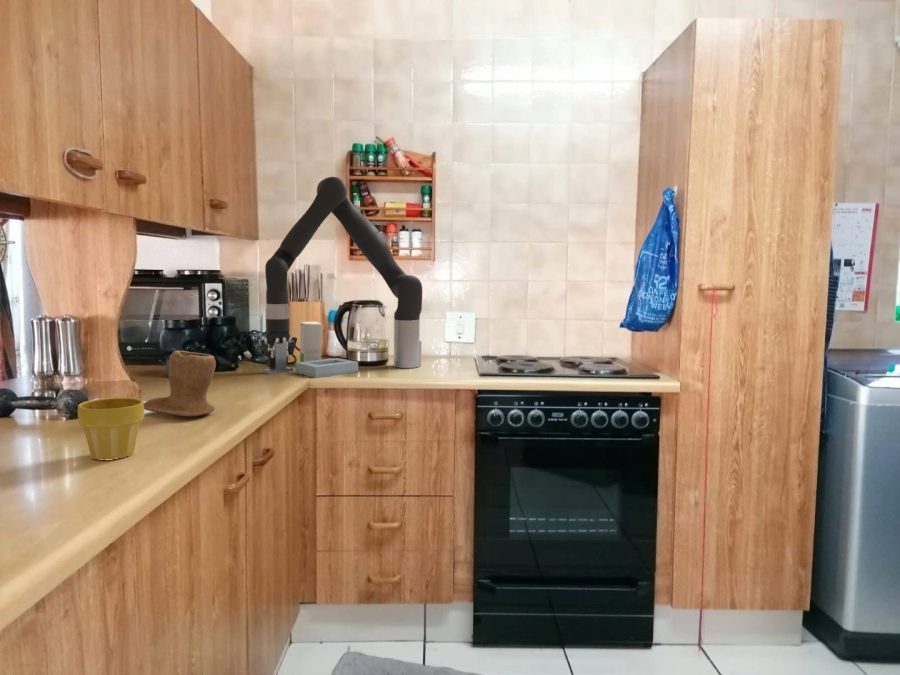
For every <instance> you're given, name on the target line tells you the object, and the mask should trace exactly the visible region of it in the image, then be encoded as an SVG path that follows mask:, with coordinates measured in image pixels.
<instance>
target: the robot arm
mask: <svg viewBox="0 0 900 675" xmlns="http://www.w3.org/2000/svg"><path fill="white" fill-rule="evenodd" d="M331 213H332V215H334V217H335V218H336V219H337V220H338V222H340V224H341V225H342V227H343V229H344V230H345V232H346V233H347V235H349V237H350V238H351V240H352V241H353V243H354V244H355V245H356V247H357V248H358V249H359V251H360V253H362V255H364V257H365V258H366V259H367V261H368V262H369V263H370V264H371V265H372V266H373V267H374V269H375V270H376V271H377V272H378V274H380V276H381V277H382V279H383V280H384V282H385V283H386V284H387V286H388V288H389V290H390V291H391V293H392V295H393V296H394V297H395V298H396V299H397V307H396V310H395V311H394V313H393V367H394V368H399V369H400V368H401V369H415V368H418V367H421V366H422V340H421V339H420V320H421V318H420V316H421V314H422V307H423V285H422V284H423V283H422V282H421V280H420V278H418V277H417V276H415V275H410V274H407V273H406V272H405V271H403V269H402V268H401V267H400V266H399V264H398V263H397V261H396V259H395V258H394V256H393V254H392V252H391V249H390V246H389V244H388V242H387V241H386V239H385V238H384V236H383V235H382V233H381V232H380V231H379V229H378V228H377V227H376V226H375V225H374V224H373V223H372V221H370V220H369V219H368V218H367V217H366V216H365V215H363V213H361V212H360V211H359V210H358V209H357V208H356V207H355V205H354V204H353V202H352V201H351V200H350V198H349V196H348V187H347V185H346V183H345V181H343V180H342V179H341V178H339V177H337V176H328V177H325V178H324V179H322V180H320V181H319V182H318V184H317V187H316V195H315V198H314V200H313V201H312V203H311V204H310V206H309V207H308V209H307V210H306V211H305V212H304V214H303V215H302V216H301V217H300V218H299V219H298V220H297V222H295V224H294V225H293V226H292V227H291V229H290V230H289V231H288V233H287V234H286V236H285V237H284V238H283V240H282V242H281V243H280V246H279V247H278V248H277V249H276V251H275V252H274V254H273V255H272V256H271V257H270V258H269V259H268V260H267V261H266V262H265V266H264V269H265V270H264V271H265V281H266V282H265V283H266V292H265V294H266V295H265V331H266V334H265V336H264V338H258V339H257V344H258V347H259V349H260V352H261V353H260V354H261V355H262V357H266V358H267V366H268V369H274V351H275V344H278V343H286V360H287V367H289V366H288V365H289V356H290V355H293V354H294V352H295V350H296V349H295V348H296V345H297V341H298V337H296V336H291V335H290V310H289V309H290V307H289V291H288V272H289V270H290V269H291V267H292V266H293V264H294V263H295V261H296V259H298V257H299V256H300V255H301V254H302V253H303V251H304V250H305V248H306V247H307V246H308V244H309V242H310V241H311V239H312V238H313V237H314V236H315V234H316V232H317V231H318V229H319V228H320V226H321V225H322V224H323V222H324V221H325V220H326V219H327V218H328V217H329V215H330V214H331ZM267 344H268V345H267ZM267 346H268V347H267ZM270 346H271V347H273V348H271V347H270Z"/></svg>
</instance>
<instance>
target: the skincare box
mask: <svg viewBox="0 0 900 675" xmlns="http://www.w3.org/2000/svg"><path fill="white" fill-rule="evenodd" d="M299 323H300V324H299V325H300V326H299V328H300V331H299V332H300V333H299V334H300V338H299V362H306V361H315V360H322V331H323V330H322V325H323V324H322V323H320V322H318V321H317V320H316V321H300V322H299Z"/></svg>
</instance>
